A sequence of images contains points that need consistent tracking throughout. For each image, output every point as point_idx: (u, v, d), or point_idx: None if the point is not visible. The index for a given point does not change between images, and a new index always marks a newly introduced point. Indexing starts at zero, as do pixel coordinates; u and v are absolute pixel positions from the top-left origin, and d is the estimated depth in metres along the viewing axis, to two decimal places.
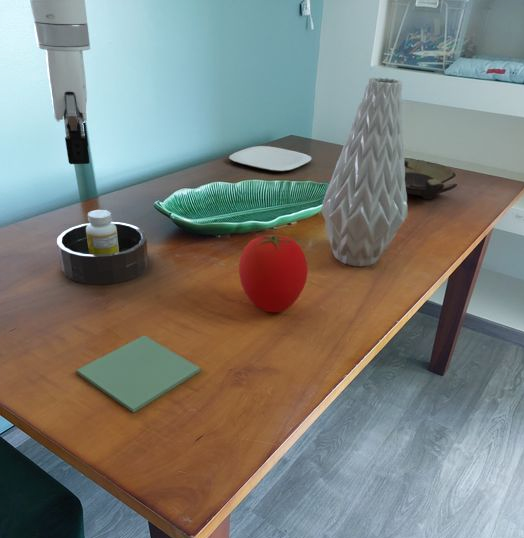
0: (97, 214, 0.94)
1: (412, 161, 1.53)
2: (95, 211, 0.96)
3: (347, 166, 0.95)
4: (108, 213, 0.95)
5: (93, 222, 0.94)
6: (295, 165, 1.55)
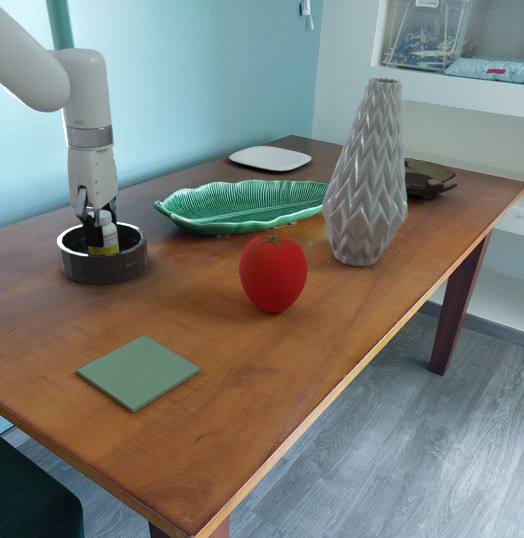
0: None
1: (412, 161, 1.53)
2: None
3: (347, 166, 0.95)
4: (108, 213, 0.95)
5: None
6: (295, 165, 1.55)
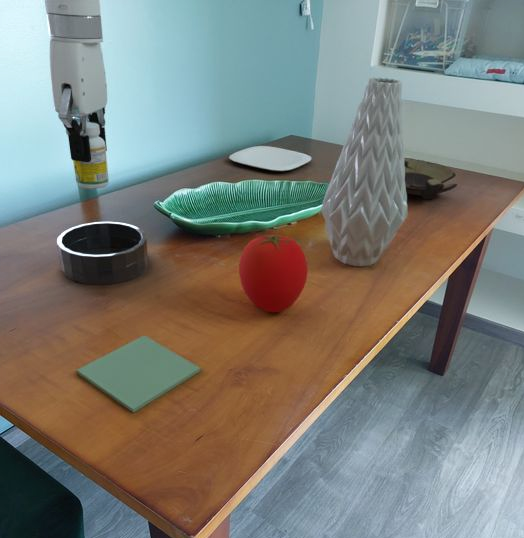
0: None
1: (412, 161, 1.53)
2: None
3: (347, 166, 0.95)
4: (96, 125, 0.86)
5: None
6: (295, 165, 1.55)
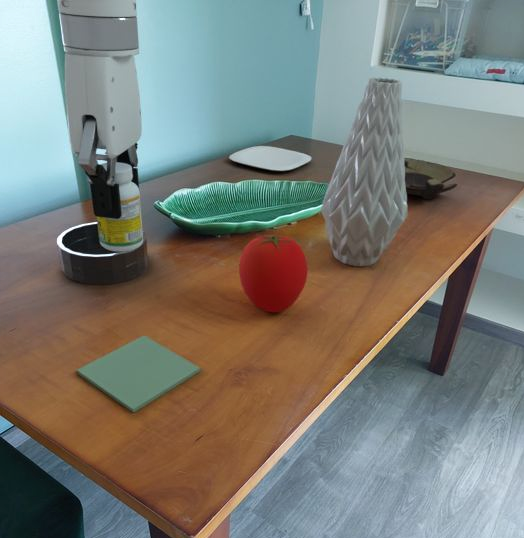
0: None
1: (412, 161, 1.53)
2: None
3: (347, 166, 0.95)
4: (128, 166, 0.62)
5: None
6: (295, 165, 1.55)
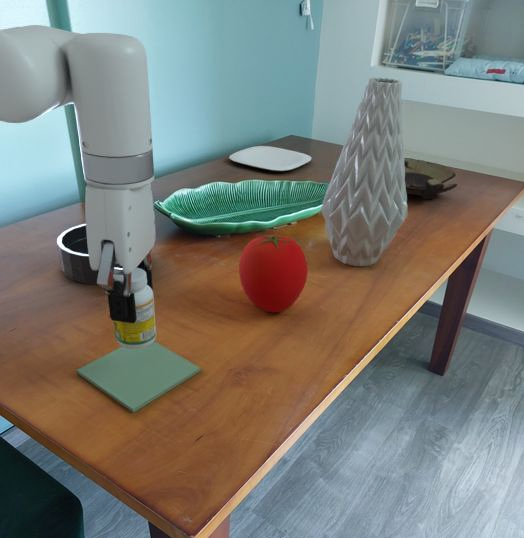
0: None
1: (412, 161, 1.53)
2: None
3: (347, 166, 0.95)
4: (142, 273, 0.66)
5: None
6: (295, 165, 1.55)
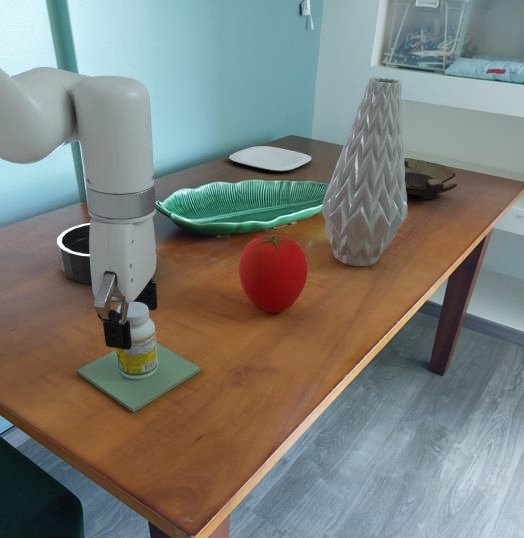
0: (130, 310, 0.68)
1: (412, 161, 1.53)
2: None
3: (347, 166, 0.95)
4: (145, 308, 0.69)
5: None
6: (295, 165, 1.55)
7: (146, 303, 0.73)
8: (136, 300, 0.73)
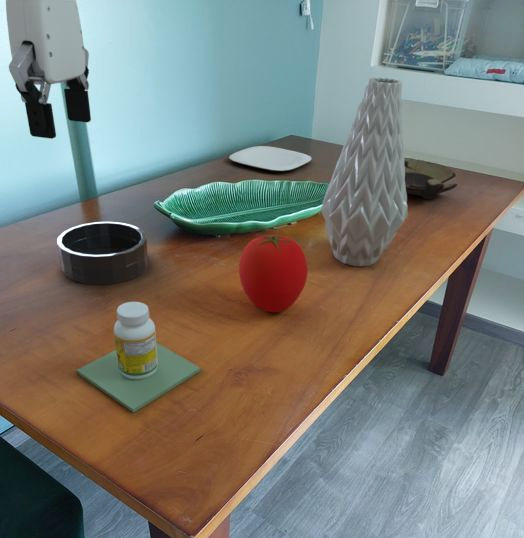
0: (130, 310, 0.68)
1: (412, 161, 1.53)
2: (126, 304, 0.70)
3: (347, 166, 0.95)
4: (145, 308, 0.69)
5: (124, 322, 0.68)
6: (295, 165, 1.55)
7: (79, 113, 0.74)
8: (69, 110, 0.74)
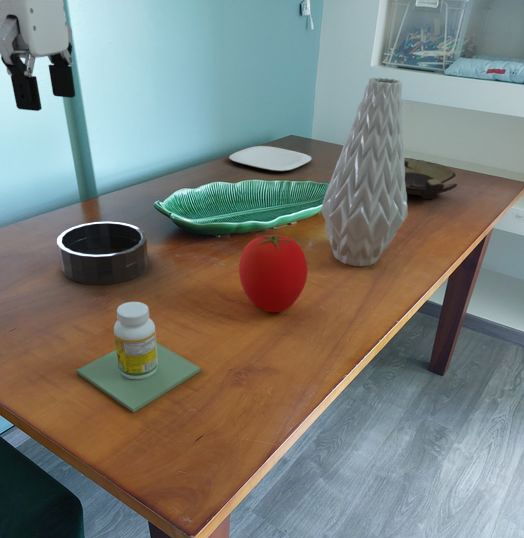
0: (130, 310, 0.68)
1: (412, 161, 1.53)
2: (126, 304, 0.70)
3: (347, 166, 0.95)
4: (145, 308, 0.69)
5: (124, 322, 0.68)
6: (295, 165, 1.55)
7: (63, 89, 0.77)
8: (54, 86, 0.77)
